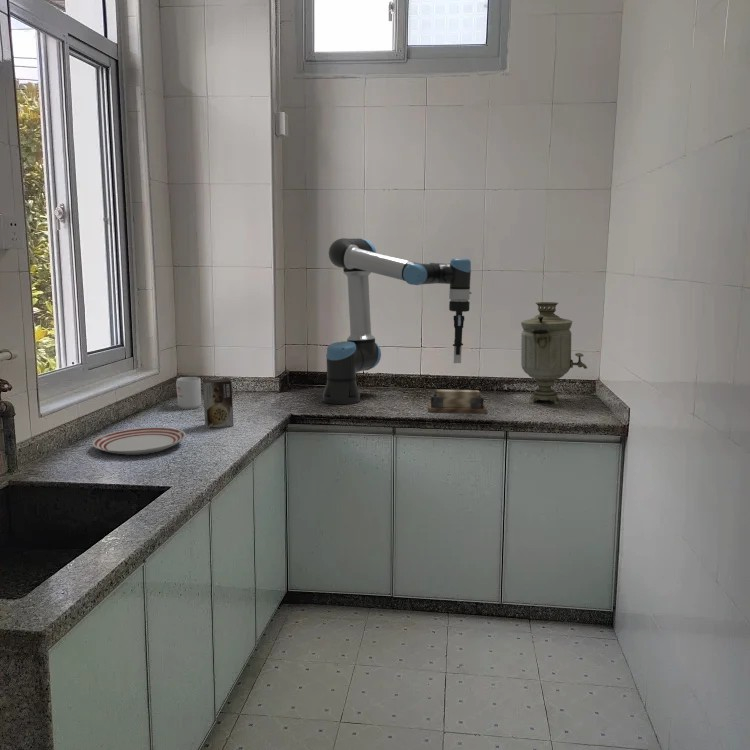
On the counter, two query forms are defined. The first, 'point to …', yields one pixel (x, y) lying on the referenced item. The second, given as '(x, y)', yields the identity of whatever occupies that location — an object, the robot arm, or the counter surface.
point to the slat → (457, 397)
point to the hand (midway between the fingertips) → (457, 362)
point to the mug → (189, 392)
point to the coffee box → (218, 402)
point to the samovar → (547, 350)
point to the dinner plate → (139, 440)
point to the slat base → (475, 407)
